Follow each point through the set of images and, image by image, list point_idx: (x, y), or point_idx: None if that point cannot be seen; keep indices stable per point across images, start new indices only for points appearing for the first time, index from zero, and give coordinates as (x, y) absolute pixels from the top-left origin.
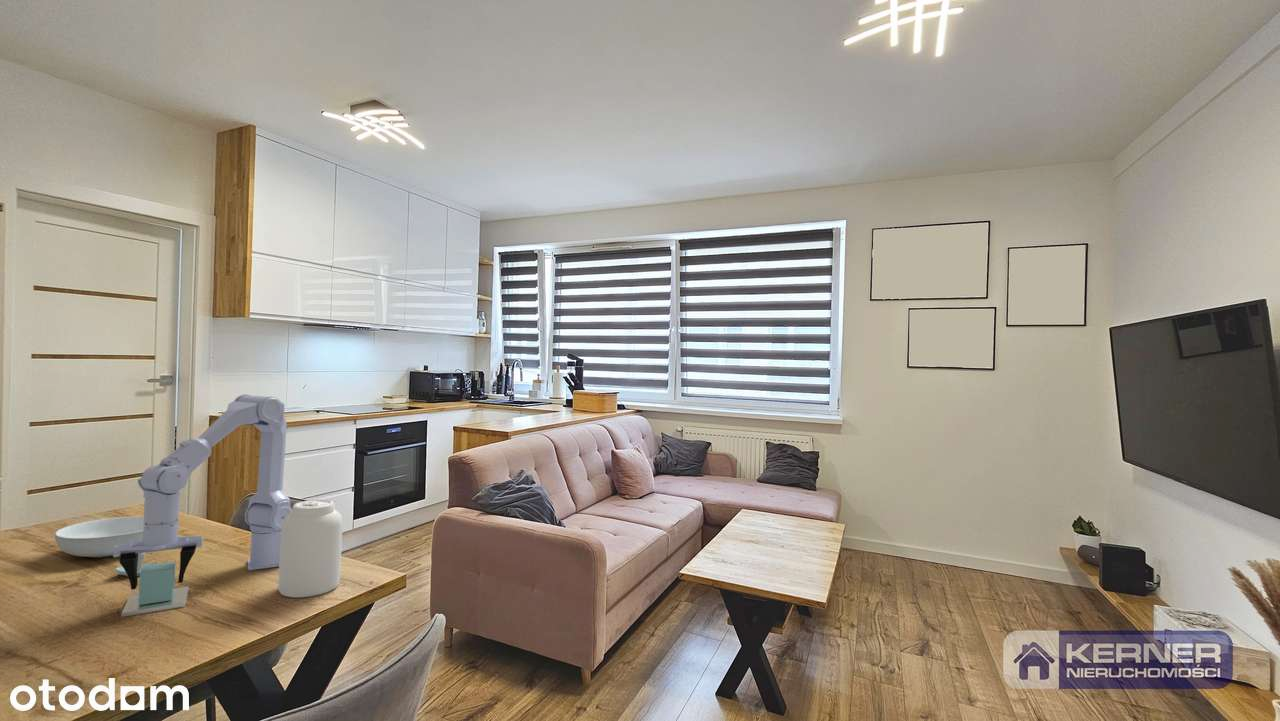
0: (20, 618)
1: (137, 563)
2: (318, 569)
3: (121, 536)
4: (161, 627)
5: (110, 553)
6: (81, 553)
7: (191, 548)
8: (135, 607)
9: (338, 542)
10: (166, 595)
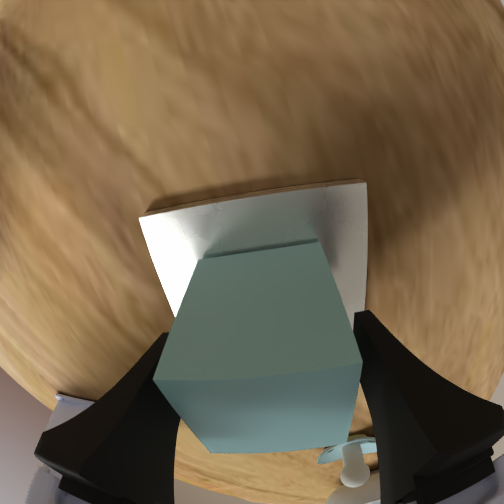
0: None
1: (377, 448)
2: None
3: (376, 498)
4: (164, 14)
5: None
6: None
7: (76, 483)
8: (327, 229)
9: None
10: (214, 270)
